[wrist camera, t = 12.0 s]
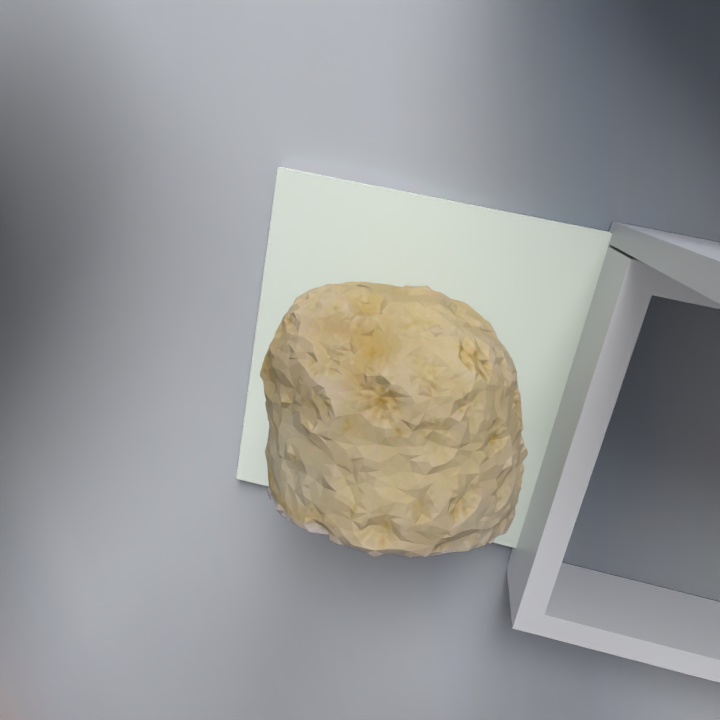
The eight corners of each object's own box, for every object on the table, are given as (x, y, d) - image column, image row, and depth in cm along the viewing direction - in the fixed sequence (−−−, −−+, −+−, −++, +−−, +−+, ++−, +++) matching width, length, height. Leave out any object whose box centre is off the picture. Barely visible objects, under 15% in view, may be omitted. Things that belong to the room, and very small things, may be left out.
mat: (240, 472, 30) (236, 478, 29) (282, 167, 25) (277, 167, 25) (537, 546, 28) (538, 554, 28) (635, 237, 24) (639, 238, 23)
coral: (213, 583, 23) (183, 384, 16) (312, 394, 30) (320, 204, 23) (475, 673, 21) (564, 494, 14) (512, 450, 28) (582, 263, 22)
